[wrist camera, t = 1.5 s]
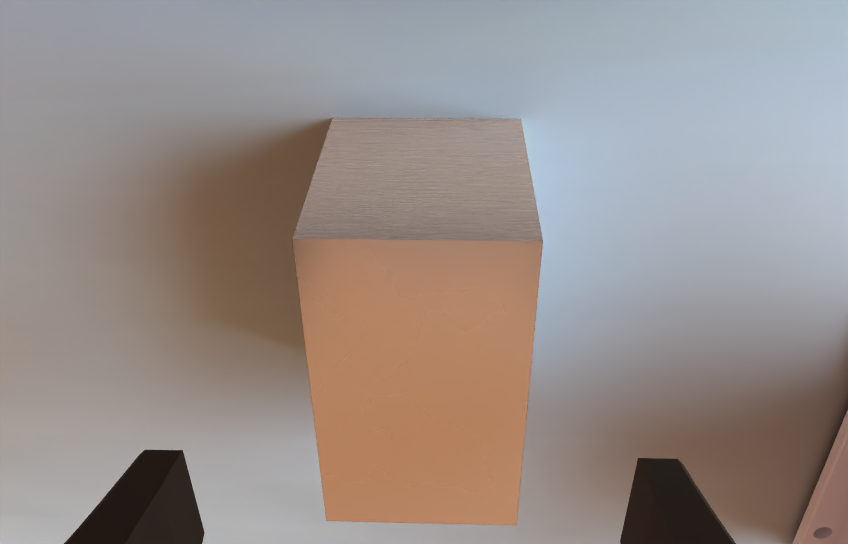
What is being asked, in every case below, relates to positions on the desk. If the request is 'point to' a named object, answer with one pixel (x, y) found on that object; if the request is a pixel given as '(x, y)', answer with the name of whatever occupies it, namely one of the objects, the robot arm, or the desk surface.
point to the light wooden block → (420, 317)
